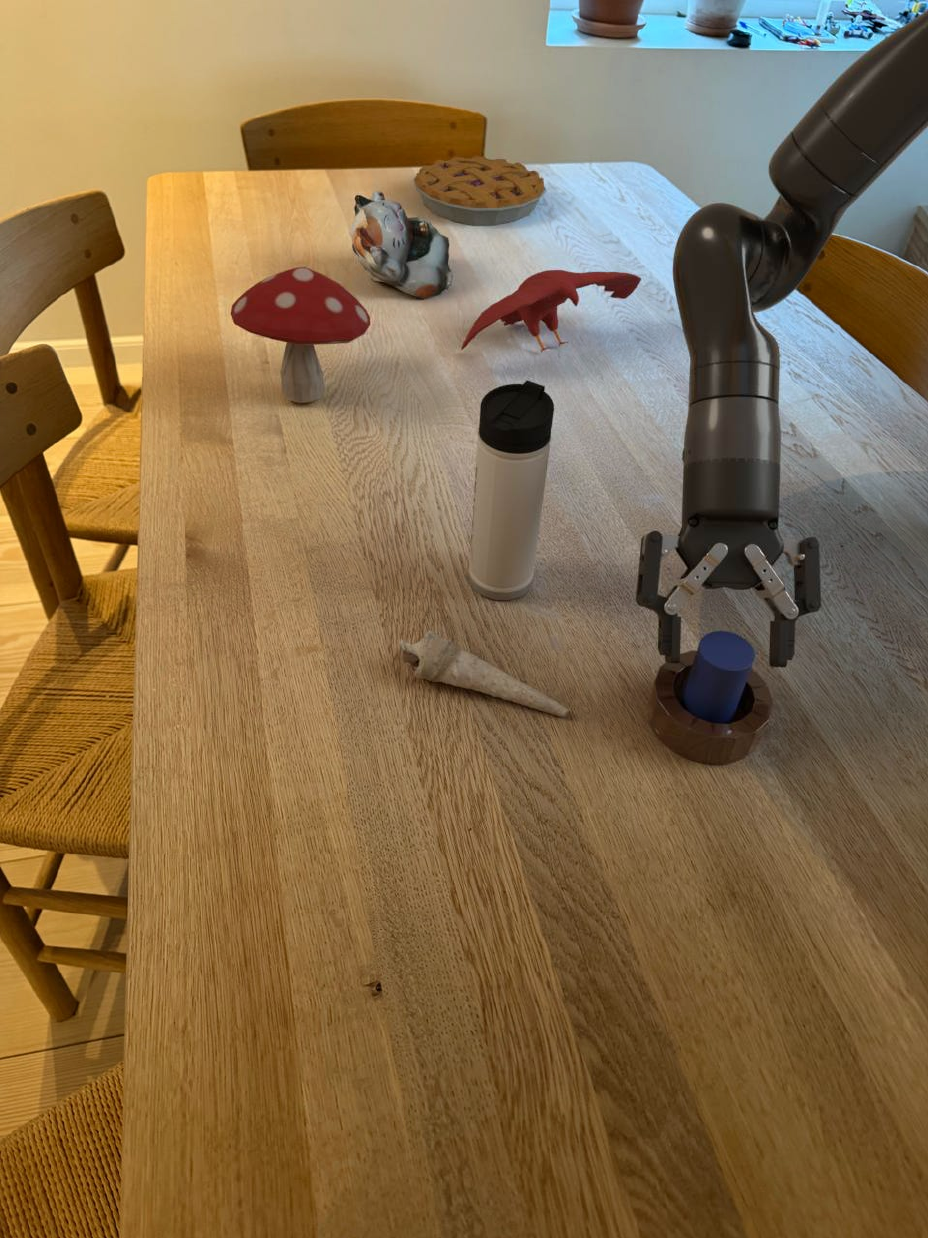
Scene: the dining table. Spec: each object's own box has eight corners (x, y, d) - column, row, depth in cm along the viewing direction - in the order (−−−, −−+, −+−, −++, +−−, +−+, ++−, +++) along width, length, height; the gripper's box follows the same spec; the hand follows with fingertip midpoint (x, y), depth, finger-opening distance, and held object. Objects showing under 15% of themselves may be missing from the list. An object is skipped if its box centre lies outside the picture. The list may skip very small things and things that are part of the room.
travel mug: (545, 572, 94) (570, 392, 80) (513, 610, 90) (533, 428, 76) (489, 549, 96) (505, 370, 82) (456, 585, 92) (466, 404, 78)
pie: (485, 171, 173) (487, 141, 170) (569, 210, 162) (573, 180, 158) (388, 195, 163) (388, 165, 159) (470, 239, 151) (472, 207, 148)
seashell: (403, 651, 86) (410, 611, 83) (571, 706, 83) (583, 666, 81) (386, 677, 82) (392, 636, 80) (561, 735, 80) (573, 694, 77)
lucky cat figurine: (452, 304, 134) (411, 225, 123) (376, 326, 139) (329, 252, 127) (457, 232, 142) (418, 152, 131) (384, 255, 146) (341, 179, 135)
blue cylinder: (725, 697, 83) (748, 631, 77) (735, 737, 79) (760, 671, 74) (675, 695, 82) (694, 629, 77) (683, 735, 79) (704, 669, 74)
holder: (748, 680, 85) (758, 652, 82) (772, 767, 78) (784, 740, 76) (641, 676, 85) (648, 648, 82) (655, 762, 78) (664, 735, 75)
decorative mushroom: (224, 373, 118) (207, 254, 108) (343, 349, 124) (338, 234, 114) (266, 439, 108) (252, 315, 98) (394, 410, 114) (393, 289, 104)
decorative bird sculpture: (445, 395, 125) (498, 351, 112) (417, 329, 125) (467, 277, 111) (605, 341, 138) (670, 296, 125) (579, 281, 137) (642, 229, 124)
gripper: (653, 450, 73) (647, 663, 72) (838, 457, 73) (832, 670, 73) (633, 467, 80) (627, 661, 80) (801, 474, 81) (796, 666, 80)
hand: (725, 665), depth 76 cm, fingers open, 8 cm apart
